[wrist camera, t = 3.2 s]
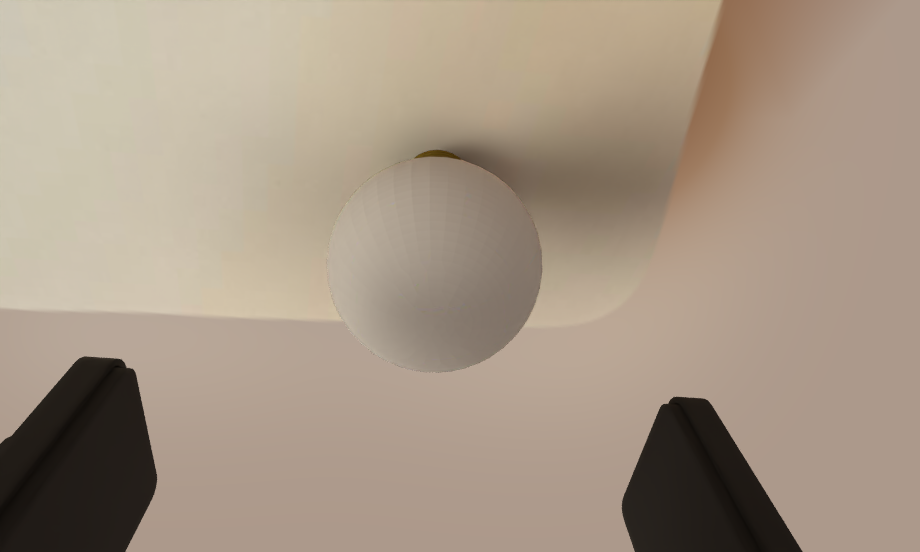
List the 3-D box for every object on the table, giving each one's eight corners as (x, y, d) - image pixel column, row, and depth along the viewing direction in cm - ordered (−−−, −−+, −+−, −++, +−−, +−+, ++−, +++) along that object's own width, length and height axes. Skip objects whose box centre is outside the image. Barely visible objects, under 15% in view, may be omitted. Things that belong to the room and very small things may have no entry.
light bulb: (334, 130, 21) (256, 262, 12) (486, 74, 20) (520, 172, 11) (396, 261, 23) (369, 444, 15) (531, 217, 23) (586, 383, 14)
